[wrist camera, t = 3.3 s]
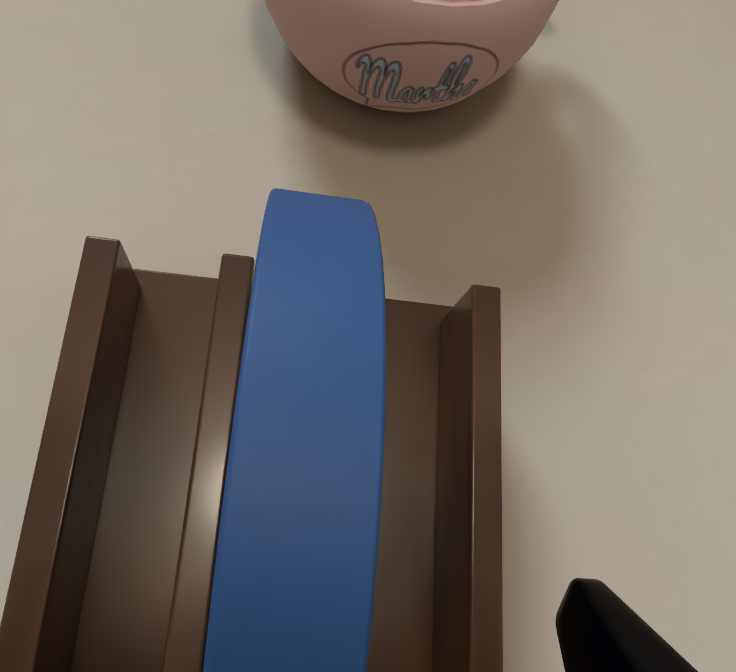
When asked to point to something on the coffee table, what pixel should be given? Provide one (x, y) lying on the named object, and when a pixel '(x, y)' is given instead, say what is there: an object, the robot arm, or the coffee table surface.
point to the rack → (208, 474)
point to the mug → (409, 46)
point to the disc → (305, 447)
